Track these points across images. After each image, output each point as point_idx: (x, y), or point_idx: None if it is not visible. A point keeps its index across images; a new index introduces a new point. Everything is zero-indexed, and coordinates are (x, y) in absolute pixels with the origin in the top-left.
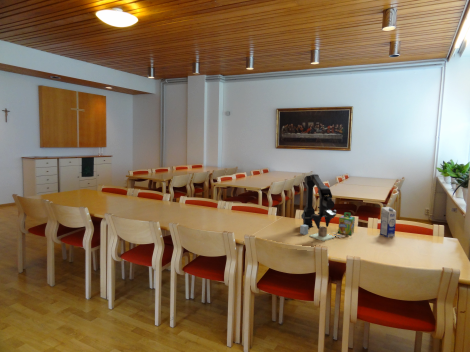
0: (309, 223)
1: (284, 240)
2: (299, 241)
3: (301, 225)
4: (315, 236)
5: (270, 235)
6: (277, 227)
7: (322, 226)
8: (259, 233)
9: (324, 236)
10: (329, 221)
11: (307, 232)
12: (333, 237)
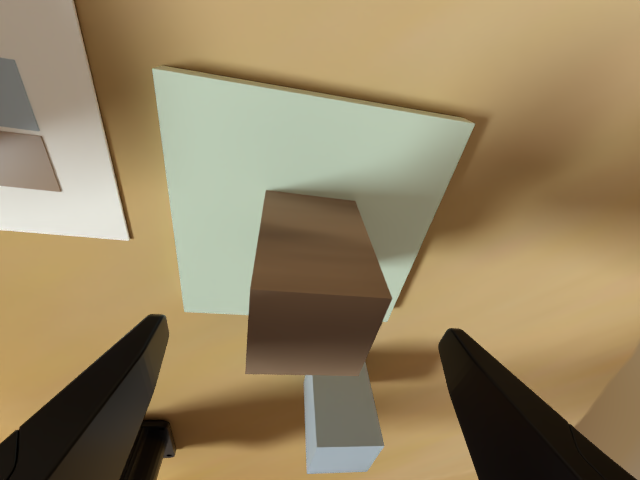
0: (129, 466)
1: (598, 355)
2: (589, 288)
3: (364, 467)
4: (394, 268)
5: None
6: (336, 474)
7: (256, 366)
8: None
9: (317, 196)
10: (8, 470)
11: None
12: (205, 75)
